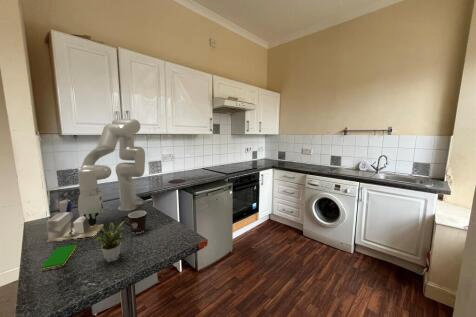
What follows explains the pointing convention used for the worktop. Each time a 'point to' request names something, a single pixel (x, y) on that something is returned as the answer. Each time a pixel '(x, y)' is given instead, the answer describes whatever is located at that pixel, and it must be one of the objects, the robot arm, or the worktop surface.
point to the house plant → (110, 241)
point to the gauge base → (82, 235)
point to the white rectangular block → (81, 225)
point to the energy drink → (66, 207)
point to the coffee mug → (137, 221)
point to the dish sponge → (59, 256)
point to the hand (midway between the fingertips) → (92, 225)
